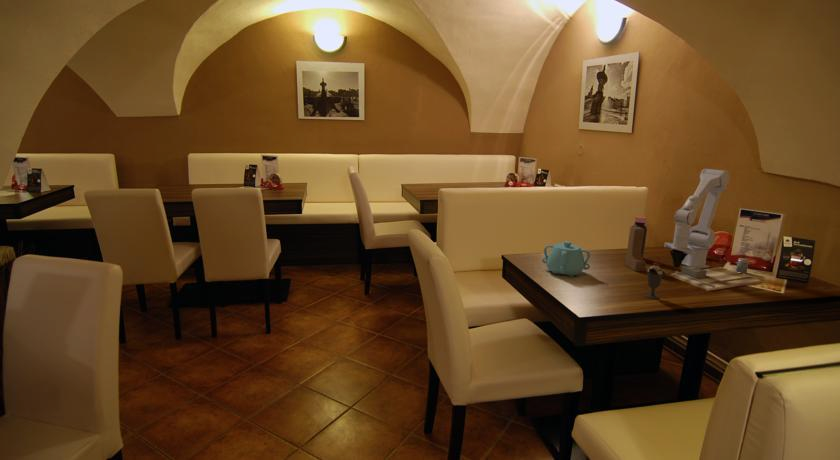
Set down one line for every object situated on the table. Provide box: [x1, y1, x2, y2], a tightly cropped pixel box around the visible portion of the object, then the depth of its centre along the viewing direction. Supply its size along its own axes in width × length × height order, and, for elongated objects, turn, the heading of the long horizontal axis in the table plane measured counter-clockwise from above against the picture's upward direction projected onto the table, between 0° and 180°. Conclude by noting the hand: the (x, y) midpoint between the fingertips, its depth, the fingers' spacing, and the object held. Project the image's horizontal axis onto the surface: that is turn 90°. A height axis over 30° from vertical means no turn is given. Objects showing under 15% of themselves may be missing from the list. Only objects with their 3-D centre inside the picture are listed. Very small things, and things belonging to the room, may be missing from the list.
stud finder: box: [680, 265, 707, 279], centre depth 203 cm, size 7×6×4 cm
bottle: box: [631, 215, 648, 259], centre depth 228 cm, size 7×7×20 cm
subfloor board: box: [670, 266, 761, 292], centre depth 203 cm, size 18×30×2 cm, turn 111°
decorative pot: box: [541, 240, 591, 278], centre depth 206 cm, size 16×16×14 cm
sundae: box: [644, 257, 666, 300], centre depth 180 cm, size 7×7×15 cm
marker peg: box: [735, 257, 750, 274], centre depth 212 cm, size 4×4×6 cm
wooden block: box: [624, 226, 647, 272], centre depth 213 cm, size 9×4×18 cm, turn 5°
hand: (676, 266), depth 211 cm, fingers closed
